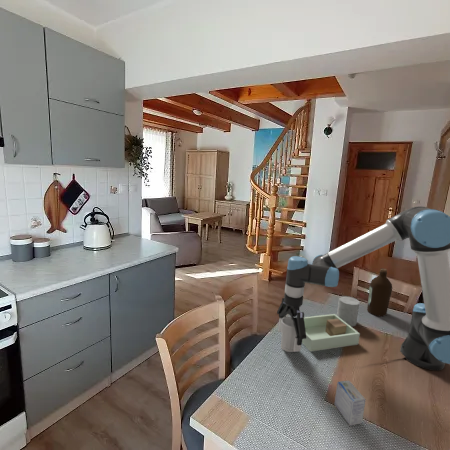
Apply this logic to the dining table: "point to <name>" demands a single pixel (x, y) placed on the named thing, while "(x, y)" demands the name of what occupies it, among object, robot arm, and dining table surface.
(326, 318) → the tote
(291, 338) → the cup
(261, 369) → the dining table surface
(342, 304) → the white can
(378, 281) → the olive oil
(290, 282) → the robot arm
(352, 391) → the medicine box
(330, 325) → the walnut block
